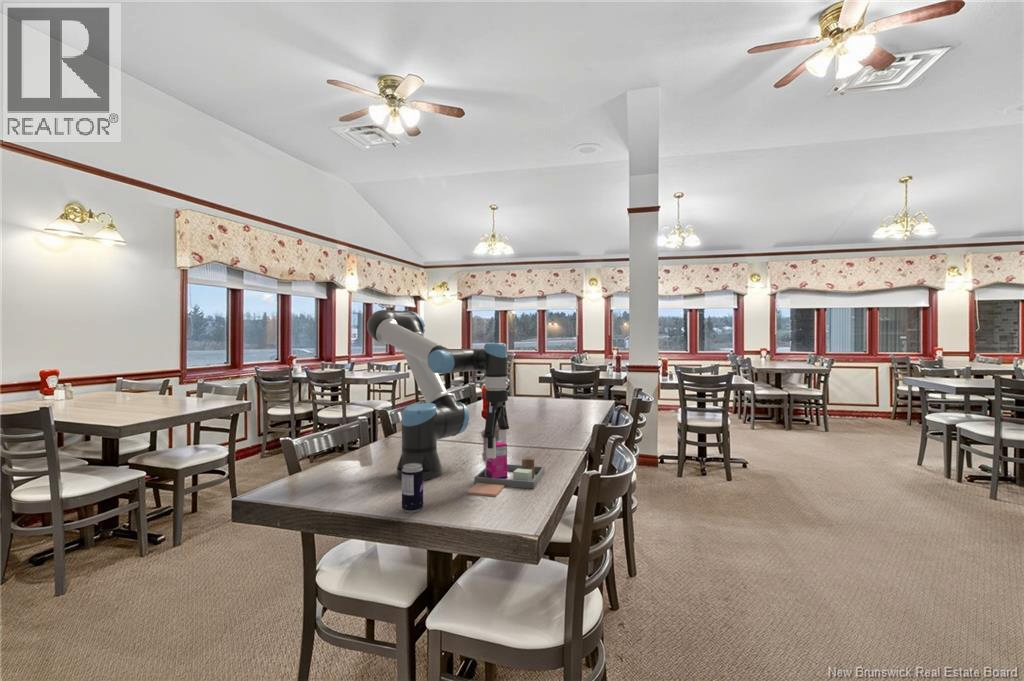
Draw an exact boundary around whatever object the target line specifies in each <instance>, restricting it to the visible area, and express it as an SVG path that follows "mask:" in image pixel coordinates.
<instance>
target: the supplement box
mask: <svg viewBox="0 0 1024 681" xmlns="http://www.w3.org/2000/svg"><path fill="white" fill-rule="evenodd" d="M495 443H496V458H495V459H494V458H487V441H485V445H484V448H485V454H484V455H485V468H486V475H485V477H487V478H498V479H508V471H507V464H508V443H507V444H506V443H504V442H502V441H500V440H499V439H498V440H495Z"/></svg>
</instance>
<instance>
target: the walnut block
mask: <svg viewBox="0 0 1024 681" xmlns="http://www.w3.org/2000/svg"><path fill="white" fill-rule="evenodd" d="M521 465H522V469H529V470H532V479H534V478H535V473H534V466H535V456H530V455H528V456H525V455H524V456H523V455H522V458H521Z"/></svg>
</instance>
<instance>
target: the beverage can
mask: <svg viewBox="0 0 1024 681" xmlns="http://www.w3.org/2000/svg"><path fill="white" fill-rule="evenodd" d="M423 507H424V480H423V468H422V465H421V464H419V463H409V464H405V465H404V466H403V469H402V479H401V508H402V510H403V511H404V512H405V513H408V514H409V513H410V514H411V513H412V514H414V513H418V512H420V511H421V510H422V508H423Z"/></svg>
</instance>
